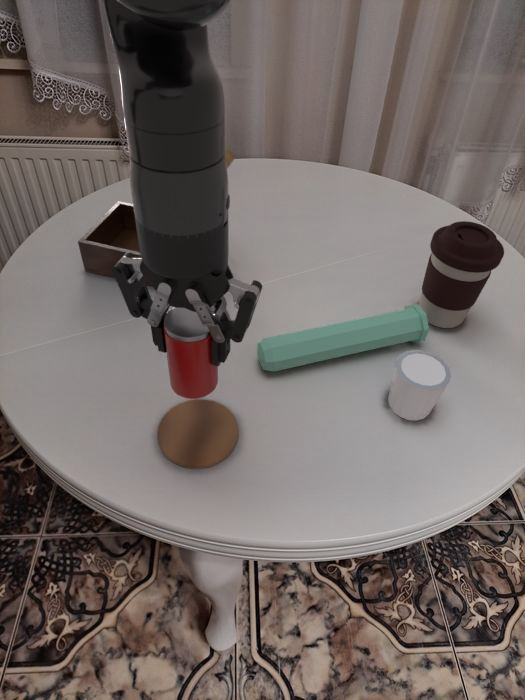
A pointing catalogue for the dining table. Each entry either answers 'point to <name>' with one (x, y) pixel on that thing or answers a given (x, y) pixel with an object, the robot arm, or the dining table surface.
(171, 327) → the can
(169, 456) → the coaster
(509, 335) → the dining table surface
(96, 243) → the chest
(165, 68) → the robot arm
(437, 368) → the white short cylinder
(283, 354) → the container
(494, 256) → the coffee cup
